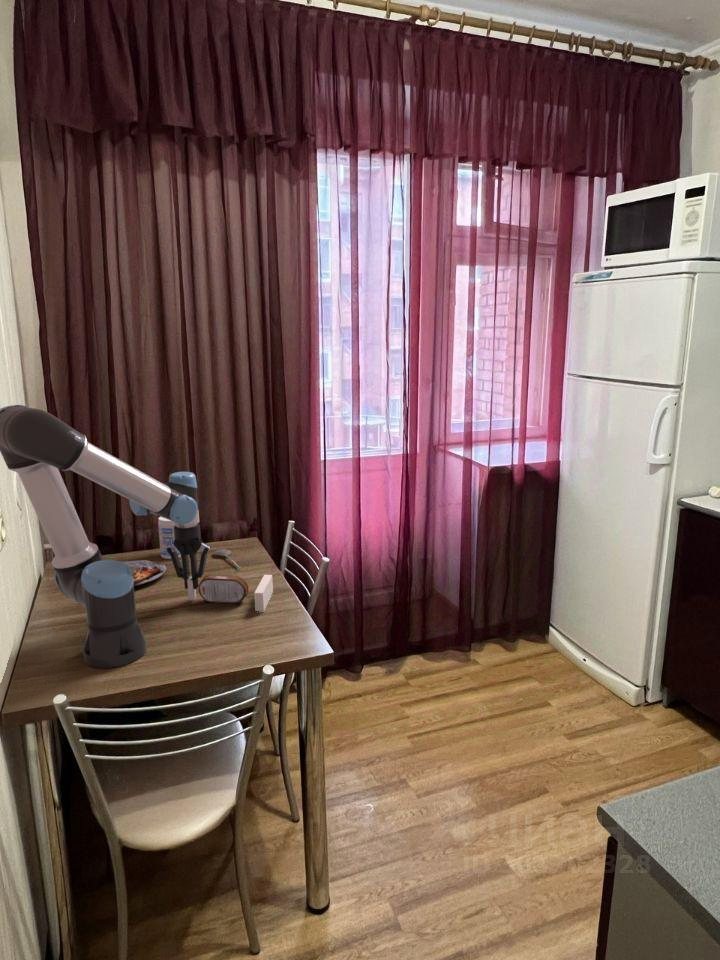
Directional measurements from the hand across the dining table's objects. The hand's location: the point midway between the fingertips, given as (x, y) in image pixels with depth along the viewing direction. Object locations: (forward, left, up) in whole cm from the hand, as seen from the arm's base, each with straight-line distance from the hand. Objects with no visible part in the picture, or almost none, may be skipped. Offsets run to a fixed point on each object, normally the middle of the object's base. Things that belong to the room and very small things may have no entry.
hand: (192, 598), depth 192 cm
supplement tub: (+40, +20, -1) cm, 44 cm away
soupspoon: (+35, -2, -2) cm, 35 cm away
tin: (0, -10, -1) cm, 10 cm away
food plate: (+18, +28, -1) cm, 33 cm away
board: (0, -22, -1) cm, 22 cm away
